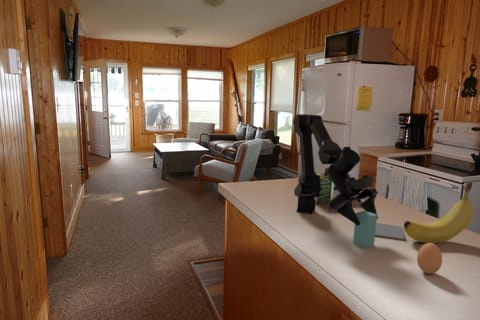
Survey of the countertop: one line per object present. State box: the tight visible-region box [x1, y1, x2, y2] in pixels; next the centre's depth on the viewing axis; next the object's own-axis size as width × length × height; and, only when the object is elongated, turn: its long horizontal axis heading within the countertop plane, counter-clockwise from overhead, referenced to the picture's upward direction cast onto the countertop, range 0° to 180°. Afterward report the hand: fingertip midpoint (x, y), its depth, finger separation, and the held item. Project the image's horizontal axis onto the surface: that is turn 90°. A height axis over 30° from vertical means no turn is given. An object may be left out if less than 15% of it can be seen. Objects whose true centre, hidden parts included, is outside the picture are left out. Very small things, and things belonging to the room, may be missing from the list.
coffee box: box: [314, 172, 332, 205], centre depth 148 cm, size 8×3×13 cm, turn 115°
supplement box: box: [331, 171, 352, 199], centre depth 157 cm, size 7×7×13 cm
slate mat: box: [375, 222, 407, 241], centre depth 119 cm, size 12×12×1 cm
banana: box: [403, 181, 474, 244], centre depth 109 cm, size 23×6×20 cm, turn 98°
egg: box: [416, 243, 443, 275], centre depth 90 cm, size 6×6×8 cm
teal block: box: [352, 210, 378, 249], centre depth 107 cm, size 4×4×10 cm
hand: (368, 222), depth 106 cm, fingers open, 9 cm apart
